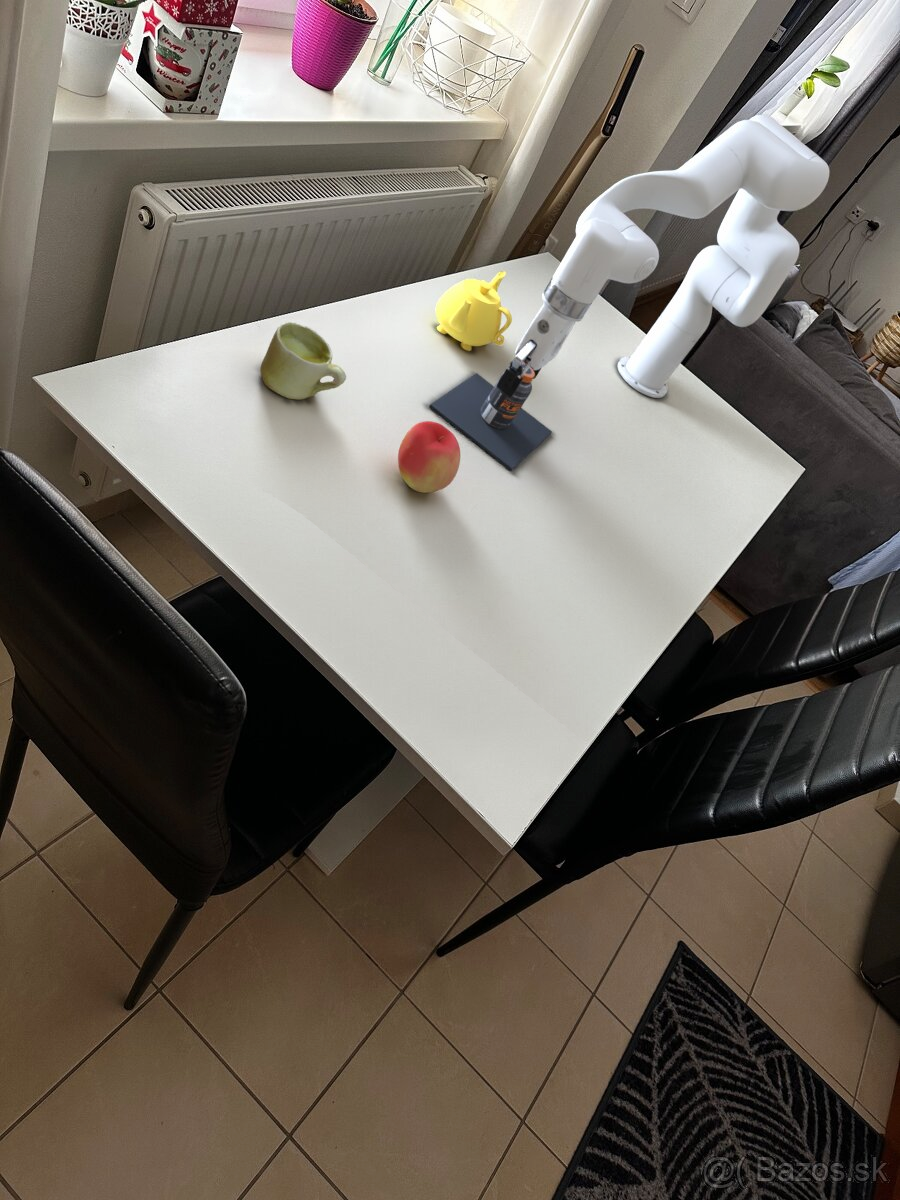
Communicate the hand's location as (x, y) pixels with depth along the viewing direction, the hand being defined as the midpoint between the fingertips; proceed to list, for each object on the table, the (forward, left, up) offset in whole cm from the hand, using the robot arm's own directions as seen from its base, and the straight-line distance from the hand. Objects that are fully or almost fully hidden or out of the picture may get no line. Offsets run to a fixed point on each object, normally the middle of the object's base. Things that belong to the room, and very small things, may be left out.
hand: (515, 382), depth 147 cm
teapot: (-18, -17, -9) cm, 26 cm away
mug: (+28, -24, -9) cm, 38 cm away
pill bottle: (0, 0, -8) cm, 8 cm away
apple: (+28, 0, -9) cm, 30 cm away
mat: (0, 0, -9) cm, 9 cm away
